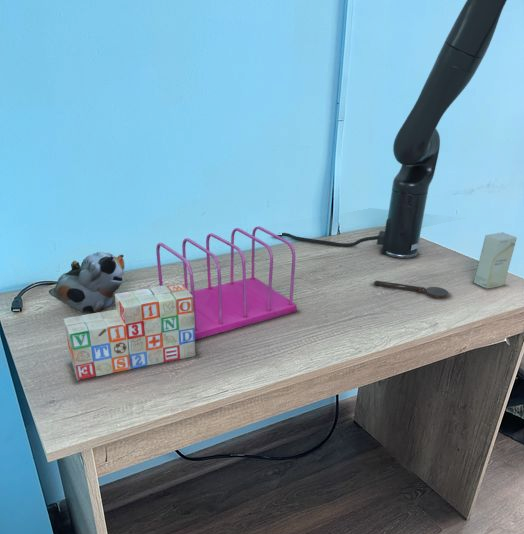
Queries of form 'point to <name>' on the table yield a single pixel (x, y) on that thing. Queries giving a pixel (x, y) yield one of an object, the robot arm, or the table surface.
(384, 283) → the spoon
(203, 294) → the file sorter
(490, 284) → the cosmetic box
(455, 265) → the table surface
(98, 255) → the lucky cat figurine
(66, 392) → the table surface
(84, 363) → the stack of blocks
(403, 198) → the robot arm
